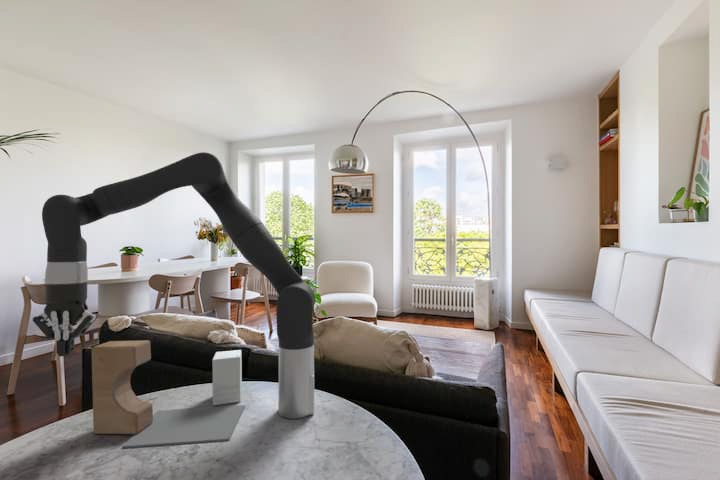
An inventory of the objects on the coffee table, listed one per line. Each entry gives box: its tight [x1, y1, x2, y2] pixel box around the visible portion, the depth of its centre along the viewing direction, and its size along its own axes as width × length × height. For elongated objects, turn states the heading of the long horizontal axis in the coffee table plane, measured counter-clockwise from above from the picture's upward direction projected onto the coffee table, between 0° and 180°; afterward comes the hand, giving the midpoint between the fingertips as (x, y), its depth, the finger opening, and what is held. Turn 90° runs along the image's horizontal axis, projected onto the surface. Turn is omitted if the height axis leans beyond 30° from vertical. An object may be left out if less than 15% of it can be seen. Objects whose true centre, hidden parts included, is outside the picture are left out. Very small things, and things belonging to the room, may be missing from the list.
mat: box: [122, 404, 246, 449], centre depth 81 cm, size 22×16×1 cm
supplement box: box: [211, 349, 243, 406], centre depth 96 cm, size 7×7×13 cm
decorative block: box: [91, 339, 154, 435], centre depth 79 cm, size 11×6×20 cm, turn 84°
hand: (65, 355), depth 78 cm, fingers closed
